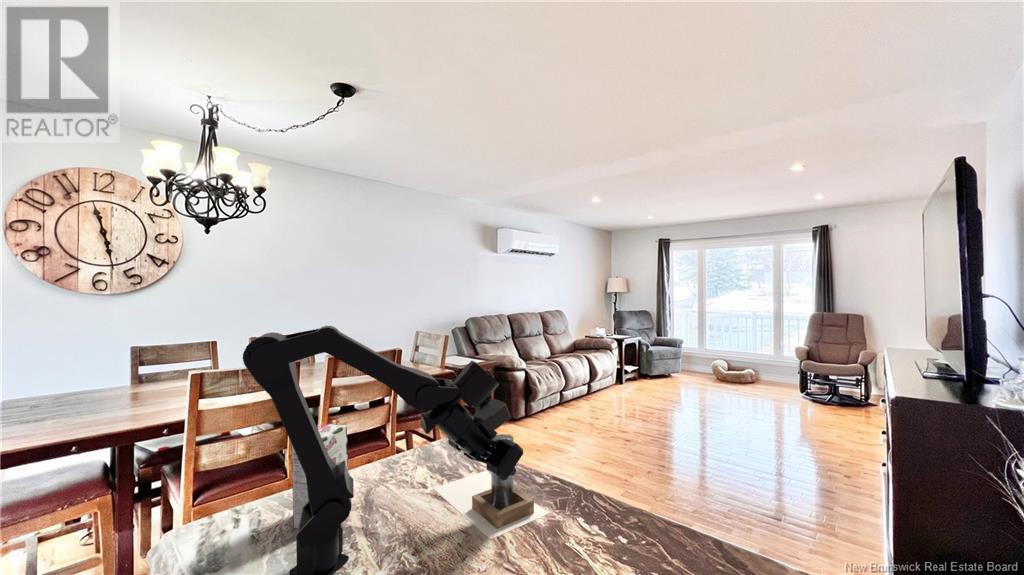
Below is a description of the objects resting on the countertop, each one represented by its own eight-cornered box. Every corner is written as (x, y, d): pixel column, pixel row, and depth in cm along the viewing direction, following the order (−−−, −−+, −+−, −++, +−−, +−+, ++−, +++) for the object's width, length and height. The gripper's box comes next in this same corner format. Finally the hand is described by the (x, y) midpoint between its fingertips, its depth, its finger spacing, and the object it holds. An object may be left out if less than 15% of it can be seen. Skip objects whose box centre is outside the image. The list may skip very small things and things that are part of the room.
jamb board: (549, 517, 81) (549, 512, 81) (490, 544, 73) (490, 539, 73) (485, 474, 100) (485, 470, 100) (432, 492, 91) (432, 488, 91)
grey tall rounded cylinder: (508, 511, 79) (508, 443, 79) (487, 507, 81) (487, 440, 81) (516, 500, 83) (516, 436, 83) (496, 496, 85) (496, 433, 85)
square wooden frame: (534, 513, 81) (533, 500, 81) (497, 529, 76) (497, 515, 76) (507, 494, 88) (507, 483, 88) (472, 508, 83) (472, 495, 83)
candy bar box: (328, 499, 89) (327, 422, 89) (349, 501, 88) (348, 424, 88) (290, 529, 78) (289, 442, 78) (314, 532, 77) (313, 444, 77)
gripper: (514, 400, 72) (561, 448, 79) (461, 380, 87) (503, 422, 94) (476, 456, 67) (528, 502, 74) (426, 425, 82) (474, 466, 89)
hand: (507, 468), depth 83 cm, fingers closed on grey tall rounded cylinder, 4 cm apart
